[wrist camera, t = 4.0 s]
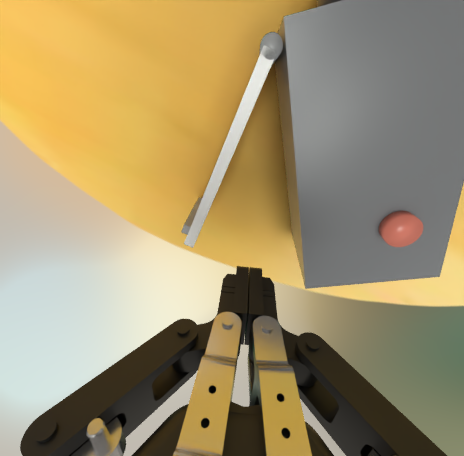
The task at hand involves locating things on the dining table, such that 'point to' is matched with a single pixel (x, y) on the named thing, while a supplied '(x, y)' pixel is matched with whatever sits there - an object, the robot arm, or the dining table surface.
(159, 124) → the dining table surface
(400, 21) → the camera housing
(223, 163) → the side door
